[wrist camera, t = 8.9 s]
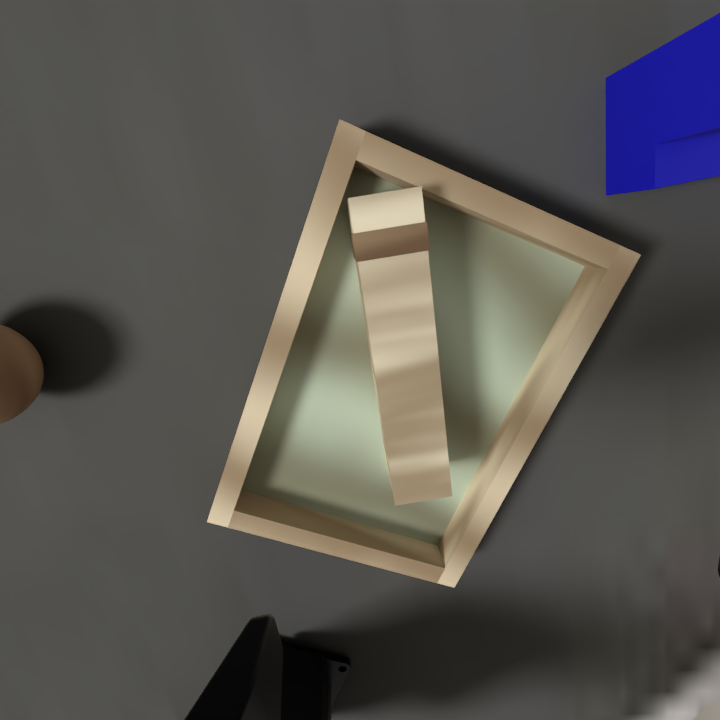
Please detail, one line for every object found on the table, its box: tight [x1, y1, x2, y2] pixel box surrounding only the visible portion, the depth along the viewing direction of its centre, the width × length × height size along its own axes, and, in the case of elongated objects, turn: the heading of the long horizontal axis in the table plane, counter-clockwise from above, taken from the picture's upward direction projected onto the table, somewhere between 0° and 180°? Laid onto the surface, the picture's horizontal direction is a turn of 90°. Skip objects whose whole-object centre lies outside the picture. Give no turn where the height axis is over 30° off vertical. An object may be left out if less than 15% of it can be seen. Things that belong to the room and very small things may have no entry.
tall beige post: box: [347, 186, 452, 506], centre depth 17 cm, size 3×3×13 cm
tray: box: [207, 120, 641, 588], centre depth 19 cm, size 18×13×2 cm
